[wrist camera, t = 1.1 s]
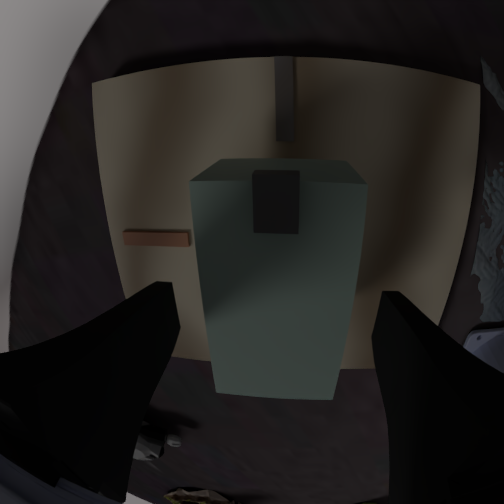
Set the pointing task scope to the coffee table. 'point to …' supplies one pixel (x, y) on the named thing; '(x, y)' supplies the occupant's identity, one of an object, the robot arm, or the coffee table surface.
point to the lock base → (291, 147)
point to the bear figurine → (196, 497)
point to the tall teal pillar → (278, 271)
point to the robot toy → (153, 442)
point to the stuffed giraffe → (491, 228)
